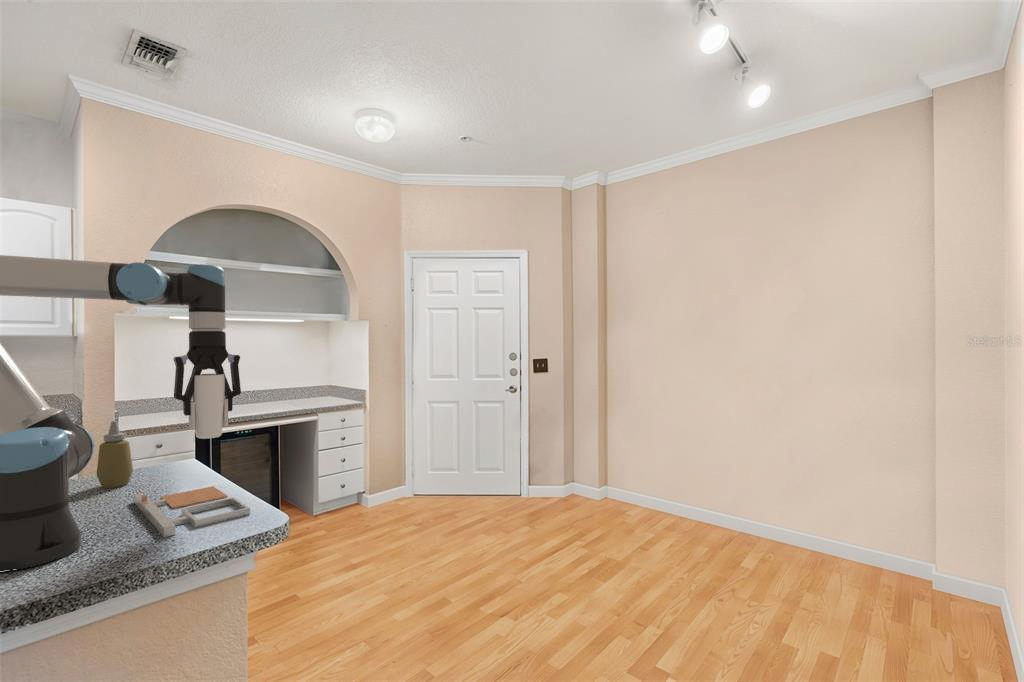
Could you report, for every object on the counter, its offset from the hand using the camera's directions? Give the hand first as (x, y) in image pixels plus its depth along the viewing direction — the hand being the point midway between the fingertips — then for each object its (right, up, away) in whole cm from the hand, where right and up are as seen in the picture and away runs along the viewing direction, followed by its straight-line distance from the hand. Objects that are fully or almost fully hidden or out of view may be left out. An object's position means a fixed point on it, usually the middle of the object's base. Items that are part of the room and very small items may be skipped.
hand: (208, 426), depth 120 cm
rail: (-5, -20, +1) cm, 21 cm away
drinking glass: (0, -3, 0) cm, 3 cm away
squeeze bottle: (-39, -20, +21) cm, 48 cm away
